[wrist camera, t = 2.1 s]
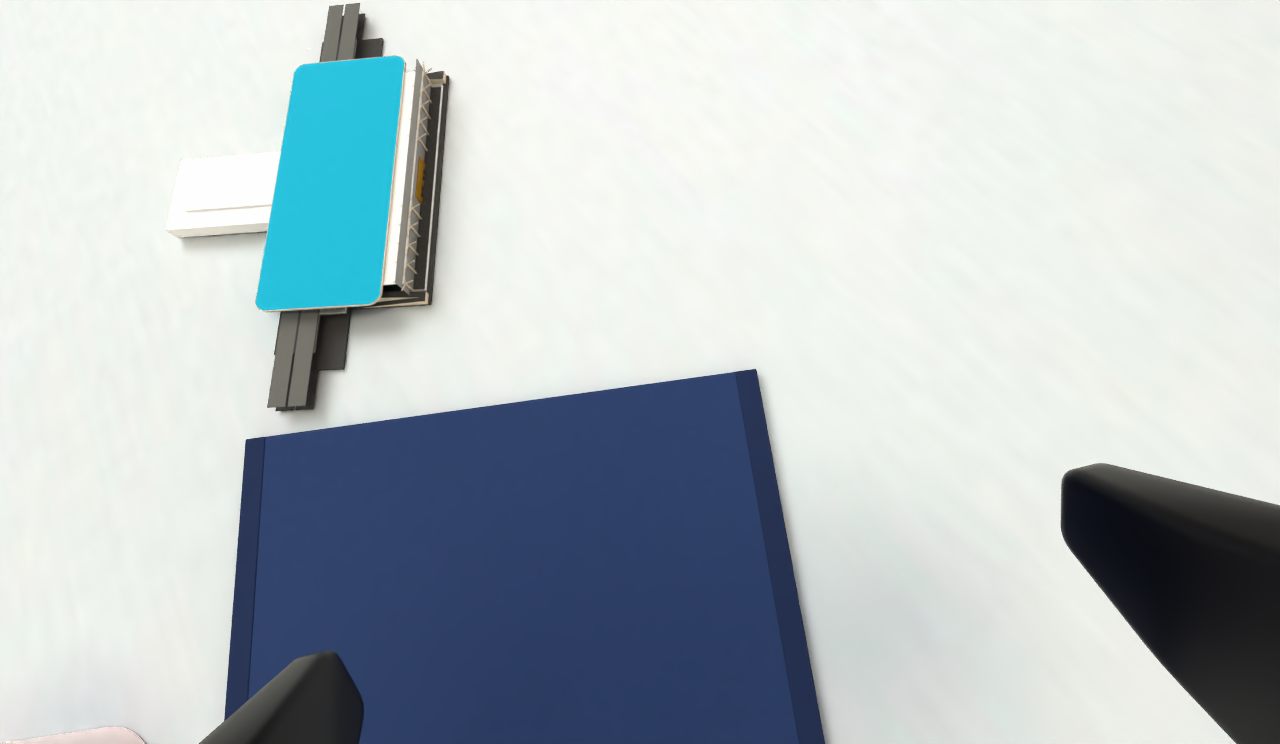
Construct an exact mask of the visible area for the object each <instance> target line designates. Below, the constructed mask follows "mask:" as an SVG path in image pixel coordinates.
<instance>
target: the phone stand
mask: <svg viewBox="0 0 1280 744" xmlns="http://www.w3.org/2000/svg"><path fill="white" fill-rule="evenodd" d="M343 6H344V5H336V6H329V11H328V18H327V24H326V31H325V37H324V42H323V43H322V49H321V56H320V62H319V63H309V64H303V65H301V66H299V67H298V68H297V69H296V70H295V72H294V75H293V81H292V87H291V93H290V99H289V105H288V110H287V116H286V122H285V128H284V134H283V140H282V146H281V151H278V152H266V153H254V154H242V155H230V156H218V157H206V158H194V159H182V160H181V162H180V166H179V171H178V175H177V180H176V184H175V189H174V193H173V198H172V202H171V207H170V211H169V216H168V220H167V224H166V229H165V230H166V231H167V232H169V233H171V234H172V235H174V236H175V237H177V238H180V237H194V236H207V235H221V234H235V233H249V232H263V231H267V234H266V240H265V246H264V252H263V258H262V264H261V270H260V276H259V282H258V288H257V293H256V299H255V303H256V306H257V307H258V308H259V309H260V310H262V311H264V312H278V311H281V313H280V320H279V326H278V333H277V339H276V346H275V352H274V355H275V361H274V367H273V374H272V380H271V386H270V393H269V399H268V406H267V408H271V407H276V411H287V410H293V406H296V409H295V410H307V409H313V404H314V397H315V389H316V382H317V374H318V370H335V369H344V363H345V355H346V347H347V338H348V330H349V321H350V313H351V310H354V309H351V307H358V308H356V309H370V308H386V307H402V306H419V305H431V302H432V289H433V276H434V264H435V251H436V238H437V225H438V212H439V200H440V187H441V174H442V161H443V148H444V136H445V123H446V110H447V97H448V84H449V76H446V74H445V72H444V71H440V72H434V73H428V74H426V73H427V72H429V71H430V70H431V69H432V68H431V69H429V70H428V71H427V72H425V68H424V62H423V68H424V70H423V68H422V67H421V65H420V63H419V61H418V60H417V61H416V70H414V71H411V72H405V70H406V63H405V61H404V59H403V58H402V57H400V56H396V55H394V56H384V57H381V53H382V45H383V39H382V38H379V39H368V40H362V33H363V26H364V18H365V14H359V8H360V3H355V4H346V6H345V13H344V16H342V13H343ZM308 50H310V48H308Z"/></svg>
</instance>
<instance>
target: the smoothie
mask: <svg viewBox="0 0 1280 744" xmlns="http://www.w3.org/2000/svg"><path fill="white" fill-rule="evenodd" d="M0 744H145V743H144V741H143V740H142V739H141V738H140V737H139V736H138V735H137V734H136V733H134V732H133V731H131V730H129V729H127V728H124V727H118V726H110V727H102V728H96V729H89V730H83V731H76V732H69V733H63V734H56V735H49V736H43V737H36V738H29V739H23V740H16V741H10V742H3V743H0Z"/></svg>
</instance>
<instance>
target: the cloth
mask: <svg viewBox="0 0 1280 744" xmlns="http://www.w3.org/2000/svg"><path fill="white" fill-rule="evenodd" d="M326 650H329V651H334V652H335V653H337V654H338V655H339V656H340V658H341V660H342V661H343V663H344V665H345V667H346V669H347V670H348V672H349V674H350V676H351V678H352V679H353V681H354V683H355V685H356V687H357V688H358V690H359V692H360V694H361V696H362V699H363V703H364V720H363V725H362V731H361V736H360V741H359V744H825V741H824V736H823V730H822V725H821V720H820V714H819V709H818V703H817V698H816V692H815V687H814V681H813V676H812V670H811V665H810V660H809V654H808V649H807V643H806V638H805V632H804V627H803V621H802V616H801V610H800V605H799V600H798V594H797V589H796V583H795V578H794V572H793V567H792V561H791V556H790V551H789V545H788V540H787V534H786V529H785V523H784V518H783V512H782V507H781V501H780V496H779V491H778V485H777V480H776V474H775V469H774V463H773V458H772V452H771V447H770V441H769V436H768V431H767V425H766V420H765V414H764V409H763V403H762V398H761V392H760V387H759V381H758V376H757V371H756V369H752V370H745V371H738V372H732V373H725V374H718V375H711V376H703V377H696V378H689V379H682V380H674V381H667V382H660V383H653V384H646V385H638V386H631V387H624V388H617V389H609V390H602V391H595V392H588V393H580V394H573V395H566V396H559V397H551V398H544V399H537V400H530V401H523V402H515V403H508V404H501V405H494V406H486V407H479V408H472V409H465V410H457V411H450V412H443V413H436V414H428V415H421V416H414V417H407V418H399V419H392V420H385V421H378V422H371V423H363V424H356V425H349V426H342V427H334V428H327V429H320V430H313V431H305V432H298V433H291V434H284V435H276V436H269V437H260V438H253V439H247V440H246V444H245V457H244V470H243V483H242V496H241V509H240V523H239V536H238V549H237V562H236V575H235V588H234V601H233V614H232V628H231V641H230V654H229V667H228V680H227V693H226V706H225V719H224V721H225V720H226V719H228V718H229V717H230V716H231V715H232V714H233V713H234V712H236V711H237V710H238V709H239V708H240V707H241V706H242V705H244V704H245V703H246V702H247V701H248V700H249V699H250V698H252V697H253V696H254V695H255V694H256V693H257V692H258V691H260V690H261V689H262V688H263V687H264V686H265V685H266V684H268V683H269V682H270V681H271V680H272V679H273V678H274V677H276V676H277V675H278V674H279V673H280V672H281V671H282V670H284V669H285V668H286V667H287V666H288V665H289V664H290V663H292V662H293V661H294V660H295V659H297V658H299V657H302V656H305V655H309V654H313V653H318V652H322V651H326Z"/></svg>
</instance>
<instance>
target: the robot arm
mask: <svg viewBox="0 0 1280 744" xmlns="http://www.w3.org/2000/svg"><path fill="white" fill-rule="evenodd" d="M1061 531H1062V535H1063V538H1064V540H1065V542H1066V544H1067V546H1068V547H1069V549H1070V550H1071V552H1072V553H1073V554H1074V555H1075V557H1076V558H1077V559H1078V560H1079V562H1080V563H1081V564H1082V565H1083V567H1084V568H1085V569H1086V570H1087V572H1088V573H1089V574H1090V576H1091V577H1092V578H1093V579H1094V581H1095V582H1096V583H1097V584H1098V586H1099V587H1100V588H1101V589H1102V591H1103V592H1104V593H1105V594H1106V596H1107V597H1108V598H1109V599H1110V601H1111V602H1112V603H1113V605H1114V606H1115V607H1116V608H1117V610H1118V611H1119V612H1120V613H1121V615H1122V616H1123V617H1124V618H1125V620H1126V621H1127V622H1128V623H1129V625H1130V626H1131V627H1132V628H1133V630H1134V631H1135V632H1136V634H1137V635H1138V636H1139V637H1140V639H1141V640H1142V641H1143V642H1144V644H1145V645H1146V646H1147V647H1148V648H1149V650H1150V651H1151V652H1152V653H1153V654H1154V656H1155V657H1156V658H1157V659H1158V660H1159V661H1160V663H1161V664H1162V665H1163V666H1164V667H1165V668H1166V669H1167V670H1168V672H1169V673H1170V674H1171V675H1172V676H1173V677H1174V678H1175V679H1176V680H1177V681H1178V682H1179V684H1180V685H1181V686H1182V687H1183V688H1184V689H1185V690H1186V691H1187V692H1188V693H1189V694H1190V695H1191V696H1192V697H1193V698H1194V699H1195V701H1196V702H1197V703H1198V704H1199V705H1200V706H1201V707H1202V708H1203V709H1204V710H1205V711H1206V712H1207V713H1208V714H1209V715H1210V716H1211V717H1212V718H1213V720H1214V721H1215V722H1216V723H1217V724H1218V725H1219V726H1220V727H1221V728H1222V729H1223V730H1224V731H1225V732H1226V733H1227V734H1228V735H1229V736H1230V737H1231V738H1232V740H1233V741H1234V742H1235V743H1236V744H1280V505H1276V504H1272V503H1267V502H1263V501H1259V500H1255V499H1251V498H1247V497H1243V496H1238V495H1234V494H1230V493H1226V492H1222V491H1218V490H1214V489H1209V488H1205V487H1201V486H1197V485H1193V484H1189V483H1184V482H1180V481H1176V480H1172V479H1168V478H1164V477H1160V476H1155V475H1151V474H1147V473H1143V472H1139V471H1135V470H1130V469H1126V468H1122V467H1118V466H1114V465H1110V464H1105V463H1098V464H1093V465H1089V466H1085V467H1080V468H1076V469H1072V470H1070V471H1068V472H1067V473H1065V475H1064V476H1063V478H1062V484H1061ZM363 720H364V703H363V699H362V696H361V694H360V692H359V690H358V688H357V687H356V685H355V683H354V681H353V679H352V678H351V676H350V674H349V672H348V670H347V669H346V667H345V665H344V663H343V661H342V660H341V658H340V656H339V655H338V654H337V653H335V652H334V651H329V650H326V651H322V652H318V653H313V654H309V655H305V656H302V657H299V658H297V659H295V660H294V661H293V662H292V663H290V664H289V665H288V666H287V667H286V668H285V669H284V670H282V671H281V672H280V673H279V674H278V675H277V676H276V677H274V678H273V679H272V680H271V681H270V682H269V683H268V684H266V685H265V686H264V687H263V688H262V689H261V690H260V691H258V692H257V693H256V694H255V695H254V696H253V697H252V698H250V699H249V700H248V701H247V702H246V703H245V704H244V705H242V706H241V707H240V708H239V709H238V710H237V711H236V712H234V713H233V714H232V715H231V716H230V717H229V718H228V719H226V720H225V721H224V722H223V723H222V724H221V725H220V726H218V727H217V728H216V729H215V730H214V731H213V732H212V733H210V734H209V735H208V736H207V737H206V738H205V739H204V740H202V741H201V742H200V743H199V744H359V741H360V736H361V731H362V725H363Z"/></svg>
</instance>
